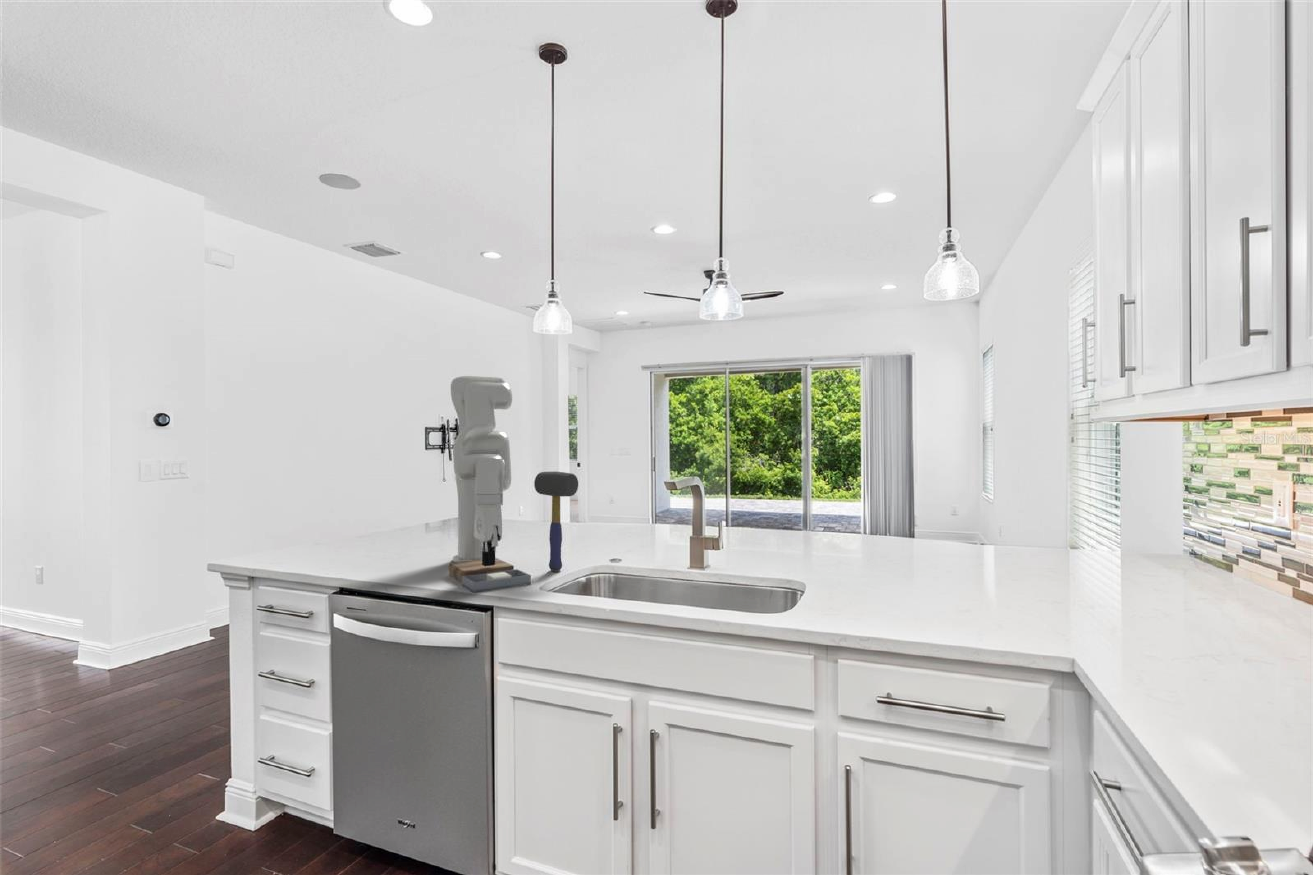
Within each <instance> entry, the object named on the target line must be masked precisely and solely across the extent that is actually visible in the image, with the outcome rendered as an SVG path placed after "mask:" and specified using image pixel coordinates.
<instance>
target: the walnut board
mask: <svg viewBox="0 0 1313 875" xmlns="http://www.w3.org/2000/svg"><path fill="white" fill-rule="evenodd" d="M448 566H449V568H448V569H449V570H448V572H449V573H448V574H449V576H450V577H452V578H453V577H454V578H453V579H455V580H457V581H458V582H460V583H461V584H462V576H468V575H476V574H484V573H492V572H499V571H507V570H515V569H514V565H513V564H511V563H508V562H506V561H504V560H501V559H499V558H497V557H495V565H492V566H483V565H482V559H481V560H473V561H464V562H450V563H449V565H448Z"/></svg>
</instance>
